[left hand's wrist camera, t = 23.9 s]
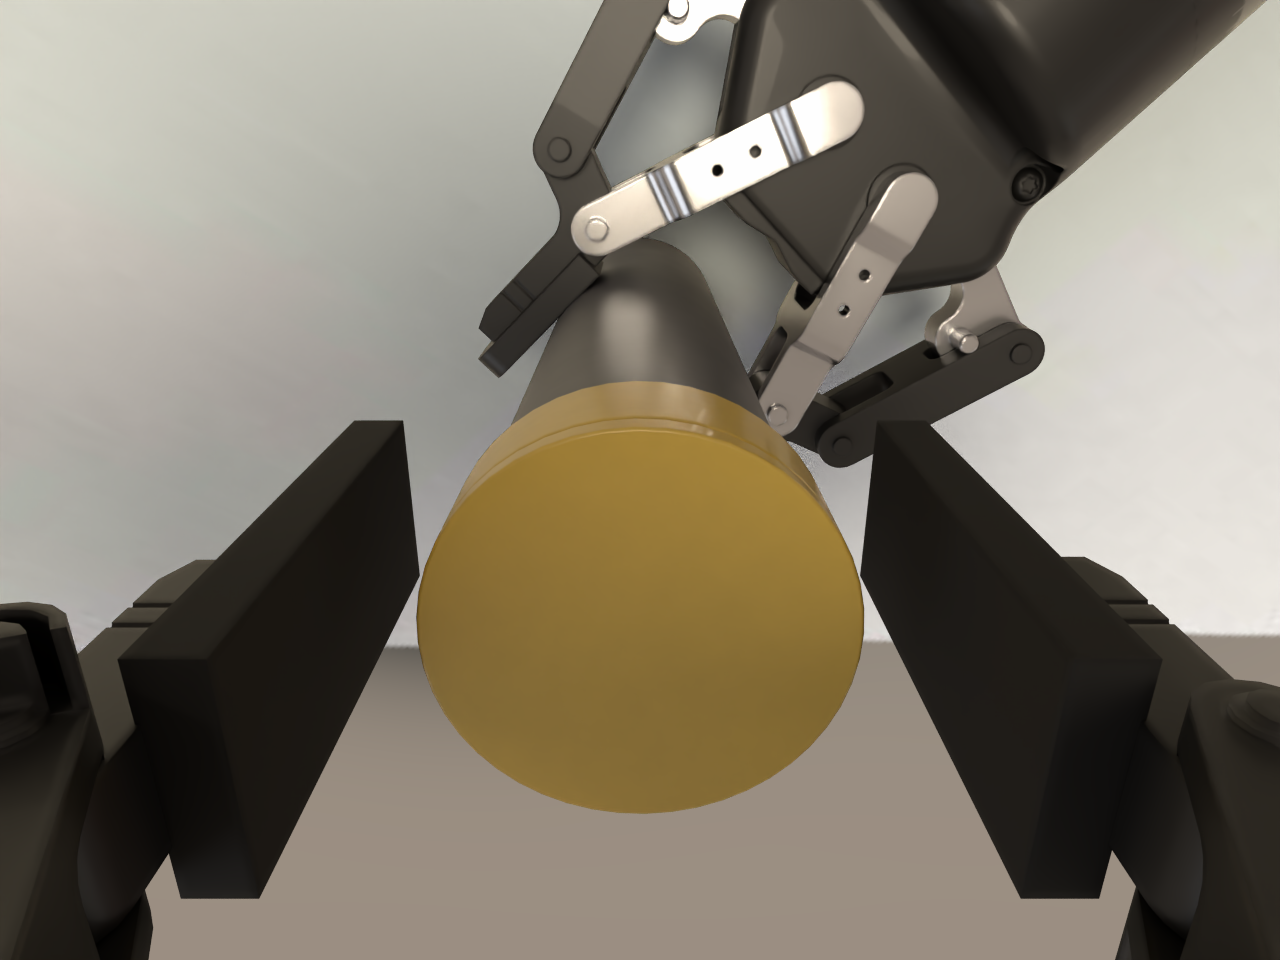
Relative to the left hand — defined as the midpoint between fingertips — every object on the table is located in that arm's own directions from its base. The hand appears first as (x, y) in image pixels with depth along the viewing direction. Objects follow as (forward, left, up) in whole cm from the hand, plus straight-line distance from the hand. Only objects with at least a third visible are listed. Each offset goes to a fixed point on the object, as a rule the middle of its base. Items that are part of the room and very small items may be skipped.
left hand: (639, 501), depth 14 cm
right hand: (-2, -2, -9) cm, 9 cm away
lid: (0, 0, +4) cm, 4 cm away
